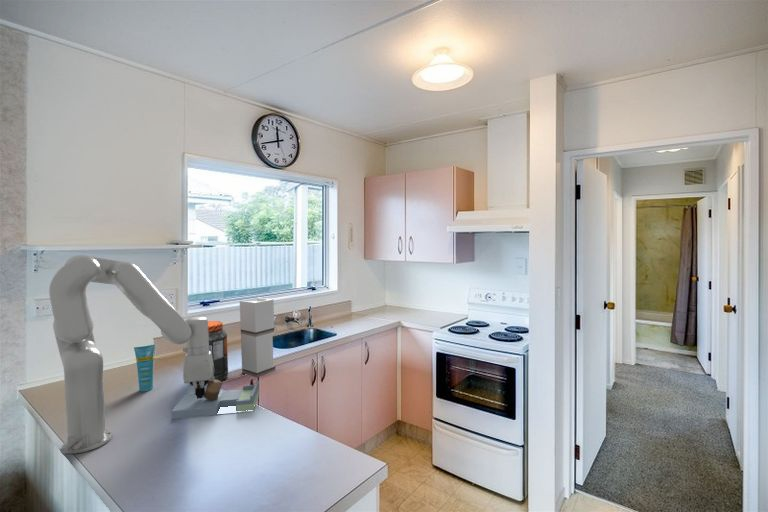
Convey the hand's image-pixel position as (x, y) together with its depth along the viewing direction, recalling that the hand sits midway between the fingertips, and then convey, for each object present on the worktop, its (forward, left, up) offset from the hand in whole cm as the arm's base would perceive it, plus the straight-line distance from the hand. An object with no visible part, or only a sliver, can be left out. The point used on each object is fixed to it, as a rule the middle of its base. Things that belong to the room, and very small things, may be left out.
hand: (200, 397), depth 144 cm
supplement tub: (+31, +5, -5) cm, 32 cm away
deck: (0, -6, -4) cm, 8 cm away
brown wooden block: (0, -4, 0) cm, 4 cm away
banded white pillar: (+36, -16, -5) cm, 40 cm away
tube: (+24, +29, -5) cm, 37 cm away
